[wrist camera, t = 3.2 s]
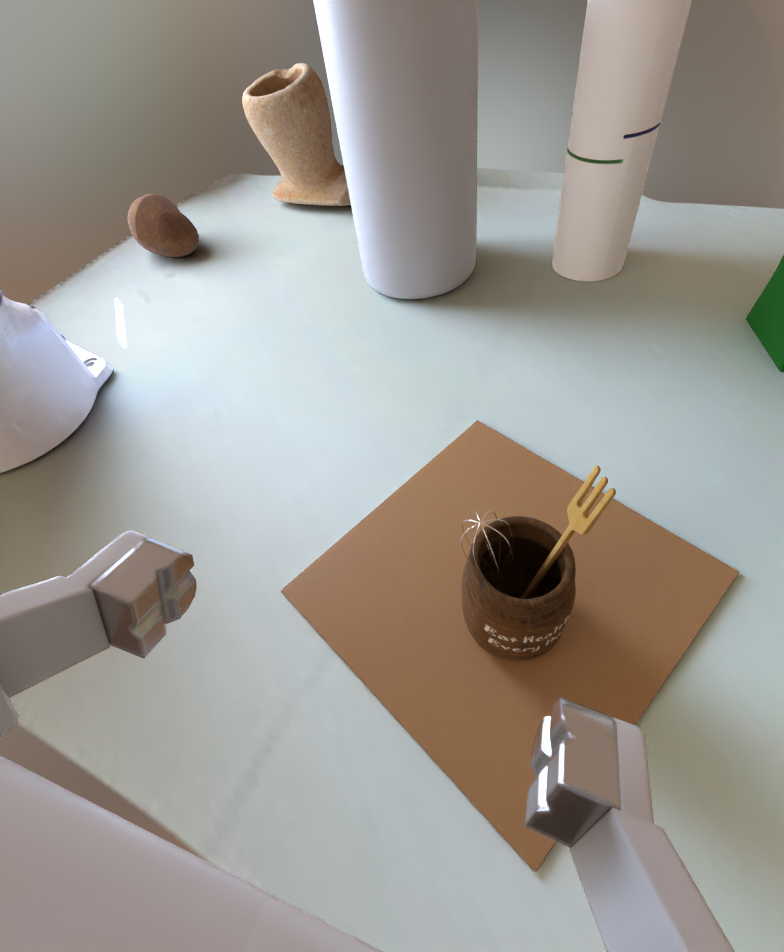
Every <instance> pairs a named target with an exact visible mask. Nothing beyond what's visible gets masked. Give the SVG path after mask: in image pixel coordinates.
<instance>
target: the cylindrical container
mask: <svg viewBox="0 0 784 952" xmlns="http://www.w3.org/2000/svg"><path fill="white" fill-rule="evenodd" d="M691 1H692V0H588V3H587V10H586V18H585V24H584V32H583V40H582V47H581V54H580V61H579V68H578V76H577V83H576V90H575V98H574V106H573V112H572V120H571V127H570V134H569V142H568V150H567V156H566V163H565V171H564V178H563V185H562V192H561V200H560V207H559V214H558V222H557V229H556V236H555V243H554V251H553V258H552V267H553V269H554V270H555V271H556V272H557V273H558V274H559V275H561V276H563V277H565V278H568V279H571V280H576V281H587V282H589V281H600V280H604V279H608V278H610V277H613V276H614V275H616V274H618V273H619V272H620V271H621V270H622V268H623V265H624V261H625V257H626V253H627V249H628V245H629V242H630V238H631V234H632V230H633V226H634V222H635V218H636V215H637V211H638V207H639V203H640V199H641V195H642V191H643V187H644V184H645V179H646V176H647V172H648V168H649V164H650V160H651V156H652V152H653V149H654V145H655V141H656V137H657V133H658V129H659V126H660V120H661V118H662V114H663V110H664V106H665V102H666V98H667V95H668V90H669V87H670V83H671V79H672V75H673V71H674V67H675V64H676V60H677V55H678V52H679V48H680V44H681V40H682V36H683V33H684V28H685V25H686V21H687V17H688V13H689V9H690V6H691Z"/></svg>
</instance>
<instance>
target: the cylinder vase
mask: <svg viewBox="0 0 784 952" xmlns="http://www.w3.org/2000/svg"><path fill="white" fill-rule="evenodd" d="M313 1H314V6H315V12H316V17H317V23H318V28H319V33H320V39H321V44H322V50H323V55H324V61H325V66H326V71H327V76H328V82H329V87H330V93H331V99H332V104H333V110H334V115H335V121H336V126H337V131H338V136H339V142H340V148H341V153H342V158H343V164H344V169H345V175H346V180H347V186H348V191H349V197H350V202H351V207H352V213H353V218H354V224H355V229H356V235H357V240H358V245H359V251H360V256H361V262H362V267H363V273H364V277H365V279H366V281H367V282H368V284H369V285H370V286H371V287H372V288H373V289H374V290H376V291H377V292H379V293H381V294H384V295H386V296H389V297H393V298H399V299H422V298H429V297H433V296H437V295H440V294H443V293H446V292H448V291H450V290H452V289H454V288H456V287H458V286H459V285H461V284H462V283H463V282H464V281H466V280H467V279H468V277H469V276H470V275H471V273H472V272H473V270H474V268H475V265H476V226H477V99H478V98H477V97H478V95H477V92H478V88H477V87H478V0H313Z"/></svg>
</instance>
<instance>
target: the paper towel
mask: <svg viewBox="0 0 784 952" xmlns="http://www.w3.org/2000/svg"><path fill="white" fill-rule="evenodd" d="M583 483H584V482H583V481H581V480H580V479H578V478H576V477H574V476H573V475H571V474H569V473H567V472H566V471H564V470H562V469H561V468H559V467H557V466H555V465H554V464H552V463H550V462H549V461H547V460H545V459H543V458H542V457H540V456H538V455H536V454H535V453H533V452H531V451H530V450H528V449H526V448H524V447H523V446H521V445H519V444H517V443H516V442H514V441H512V440H511V439H509V438H507V437H505V436H504V435H502V434H500V433H498V432H497V431H495V430H493V429H492V428H490V427H488V426H486V425H485V424H483V423H481V422H480V421H476V422H475V423H474V424H473V425H472V426H471V427H469V428H468V429H467V430H466V431H465V432H464V433H462V434H461V435H460V436H459V437H458V438H457V439H456V440H454V441H453V442H452V443H451V444H450V445H449V446H447V447H446V448H445V449H444V450H443V451H442V452H440V453H439V454H438V455H437V456H436V457H435V458H434V459H432V460H431V461H430V462H429V463H428V464H427V465H425V466H424V467H423V468H422V469H421V470H420V471H419V472H417V473H416V474H415V475H414V476H413V477H412V478H410V479H409V480H408V481H407V482H406V483H405V484H403V485H402V486H401V487H400V488H399V489H398V490H397V491H395V492H394V493H393V494H392V495H391V496H390V497H388V498H387V499H386V500H385V501H384V502H383V503H382V504H380V505H379V506H378V507H377V508H376V509H375V510H373V511H372V512H371V513H370V514H369V515H368V516H366V517H365V518H364V519H363V520H362V521H361V522H360V523H358V524H357V525H356V526H355V527H354V528H353V529H351V530H350V531H349V532H348V533H347V534H346V535H344V536H343V537H342V538H341V539H340V540H339V541H338V542H336V543H335V544H334V545H333V546H332V547H331V548H329V549H328V550H327V551H326V552H325V553H324V554H323V555H321V556H320V557H319V558H318V559H317V560H316V561H314V562H313V563H312V564H311V565H310V566H309V567H307V568H306V569H305V570H304V571H303V572H302V573H301V574H299V575H298V576H297V577H296V578H295V579H294V580H292V581H291V582H290V583H289V584H288V585H287V586H286V587H284V588H283V589H282V590H281V592H282V593H283V594H284V595H285V596H286V597H287V598H288V600H289V601H290V602H291V603H292V604H293V605H294V606H295V607H296V608H297V609H298V611H299V612H300V613H301V614H302V615H303V616H304V617H305V618H306V619H307V621H308V622H309V623H310V624H311V625H312V626H313V627H314V628H315V629H316V630H317V632H318V633H319V634H320V635H321V636H322V637H323V638H324V639H325V640H326V642H327V643H328V644H329V645H330V646H331V647H332V648H333V649H334V650H335V651H336V653H337V654H338V655H339V656H340V657H341V658H342V659H343V660H344V661H345V662H346V664H347V665H348V666H349V667H350V668H351V669H352V670H353V671H354V672H355V674H356V675H357V676H358V677H359V678H360V679H361V680H362V681H363V682H364V683H365V685H366V686H367V687H368V688H369V689H370V690H371V691H372V692H373V693H374V695H375V696H376V697H377V698H378V699H379V700H380V701H381V702H382V703H383V704H384V706H385V707H386V708H387V709H388V710H389V711H390V712H391V713H392V714H393V716H394V717H395V718H396V719H397V720H398V721H399V722H400V723H401V724H402V725H403V727H404V728H405V729H406V730H407V731H408V732H409V733H410V734H411V735H412V737H413V738H414V739H415V740H416V741H417V742H418V743H419V744H420V745H421V746H422V748H423V749H424V750H425V751H426V752H427V753H428V754H429V755H430V756H431V757H432V759H433V760H434V761H435V762H436V763H437V764H438V765H439V766H440V767H441V769H442V770H443V771H444V772H445V773H446V774H447V775H448V776H449V777H450V778H451V780H452V781H453V782H454V783H455V784H456V785H457V786H458V787H459V788H460V790H461V791H462V792H463V793H464V794H465V795H466V796H467V797H468V798H469V799H470V801H471V802H472V803H473V804H474V805H475V806H476V807H477V808H478V809H479V811H480V812H481V813H482V814H483V815H484V816H485V817H486V818H487V819H488V820H489V822H490V823H491V824H492V825H493V826H494V827H495V828H496V829H497V830H498V831H499V833H500V834H501V835H502V836H503V837H504V838H505V839H506V840H507V841H508V843H509V844H510V845H511V846H512V847H513V848H514V849H515V850H516V851H517V852H518V854H519V855H520V856H521V857H522V858H523V859H524V860H525V861H526V862H527V864H528V865H529V866H530V867H531V868H532V869H533V870H534V871H535V872H536V870H537V869H538V867H539V866H540V865H541V863H542V862H543V860H544V859H545V857H546V856H547V854H548V853H549V851H550V850H551V848H552V847H553V845H554V844H555V842H556V840H553V839H551V838H549V837H547V836H545V835H543V834H541V833H539V832H536V831H534V830H532V829H530V828H528V827H526V826H525V819H526V807H527V795H528V788H529V787H530V785H531V784H532V782H533V781H534V779H535V778H536V776H535V774H534V772H533V770H532V767H531V765H530V762H531V753H532V747H533V742H534V738H535V735H536V732H537V729H538V726H539V725H540V723H541V721H542V720H543V718H544V717H548V716H551V705H552V704H553V703H554V701H555V700H556V698H558V697H562V698H565V699H568V700H571V701H573V702H576V703H579V704H581V705H584V706H587V707H589V708H592V709H595V710H598V711H600V712H603V713H606V714H608V715H611V717H614V718H616V719H619V720H622V721H625V722H627V723H630V724H633V725H636V723H637V722H638V720H639V719H640V717H641V716H642V714H643V713H644V711H645V710H646V708H647V707H648V706H649V704H650V703H651V701H652V700H653V698H654V697H655V695H656V694H657V692H658V691H659V689H660V688H661V686H662V685H663V683H664V682H665V680H666V679H667V678H668V676H669V675H670V673H671V672H672V670H673V669H674V667H675V666H676V664H677V663H678V661H679V660H680V658H681V657H682V655H683V654H684V653H685V651H686V650H687V648H688V647H689V645H690V644H691V642H692V641H693V639H694V638H695V636H696V635H697V633H698V632H699V630H700V629H701V627H702V626H703V625H704V623H705V622H706V620H707V619H708V617H709V616H710V614H711V613H712V611H713V610H714V608H715V607H716V605H717V604H718V602H719V601H720V600H721V598H722V597H723V595H724V594H725V592H726V591H727V589H728V588H729V586H730V585H731V583H732V582H733V580H734V579H735V577H736V576H737V574H738V573H739V572H738V571H737V570H735V569H733V568H731V567H730V566H728V565H726V564H724V563H723V562H721V561H719V560H718V559H716V558H714V557H712V556H711V555H709V554H707V553H706V552H704V551H702V550H700V549H699V548H697V547H695V546H693V545H692V544H690V543H688V542H687V541H685V540H683V539H681V538H680V537H678V536H676V535H674V534H673V533H671V532H669V531H668V530H666V529H664V528H662V527H661V526H659V525H657V524H655V523H654V522H652V521H650V520H649V519H647V518H645V517H643V516H642V515H640V514H638V513H637V512H635V511H633V510H631V509H630V508H628V507H626V506H624V505H623V504H621V503H619V502H618V501H616V500H614V499H612V500H611V501H610V503H609V504H608V506H607V507H606V508H605V510H604V511H603V513H602V514H601V516H600V517H599V519H598V520H597V522H596V523H595V524H594V526H593V527H592V529H591V530H590V532H589V533H588V534H583V535H581V534H579V533H578V532H576V531H575V533H574V534H573V535H572V537H571V538H570V540H569V541H568V543H569V545H570V547H571V549H572V552H573V555H574V559H575V567H576V576H575V585H576V594H575V601H574V605H573V609H572V612H571V614H570V617H569V620H568V622H567V624H566V627H565V629H564V631H563V633H562V635H561V637H560V638H559V640H558V641H557V643H556V644H555V645H554V646H553V647H552V648H551V649H550V650H549V651H548V652H546V653H545V654H543V655H541V656H539V657H537V658H534V659H531V660H525V661H512V660H506V659H502V658H499V657H497V656H495V655H493V654H491V653H489V652H488V651H486V650H485V649H484V648H482V647H481V646H480V645H479V644H478V643H477V642H476V641H475V639H474V638H473V637H472V635H471V633H470V632H469V630H468V628H467V625H466V623H465V619H464V615H463V608H462V575H463V570H464V566H465V564H466V561H467V558H468V555H469V552H470V548H471V546H472V544H473V541H474V538H475V534H476V531H477V529H478V526H479V525H476V524H478V523H477V522H478V520H477V518H478V517H479V519H480V521H481V520H482V519H483V517H484V516H485V514H486V513H487V512H489V511H494V512H495V514H496V517H497V519H502V518H506V517H512V516H524V517H530V518H534V519H538V520H540V521H543V522H545V523H547V524H549V525H550V526H552V527H553V528H555V529H556V530H557V531H558V532H560V533H561V534H562V535H563V533H564V532H565V530H566V529H567V527H568V526H569V519H568V513H567V508H568V506H569V504H570V503H571V501H572V500H573V498H574V497H575V495H576V494H577V492H578V491H579V489H580V488H581V486H582V485H583ZM593 490H594V488H593V487H592V486H591V487H590V489H589V491H588V492H587V494H586V495H585V497H584V499H583V500H582V505H583V504H584V502H585V501H586V500H587V498H588V497H589V495H590V494H591V492H592V491H593ZM604 496H605V494H604V493H602V492H601V494H600V495H599V497H598V498H597V500H596V501H595V503H594V504H593V506H592V507H591V509H590V510H589V512H588V516H590V515H591V513H592V512H593V511H594V509H595V508H596V506H597V505H598V504H599V502H600V501H601V500H602V498H603V497H604ZM475 511H476V513H477V515H478V517H477V518H476V515H475ZM494 512H489V513H488V514H487V515H486V516H485V517H484V519H483V521H482V522H484V521H487V520H492V519H496V517H495V514H494ZM465 520H473V521H477V522H473V521H465ZM463 521H465V522H464V523H463V524H462V522H463ZM494 521H496V520H492V521H487V522H484V523H483V524H486V525H489V524H490V523H492V522H494ZM461 524H462V526H463V530H464V533H465V532H466V531H467V530H468V529H469V528H471V527H472V526H474V525H476V526H474V527H473V528H471V529H470V530H468V531H467V532H466V533H465V535H466V538H467V540H468V541H469V543H470V544H471V546H470V544H469V543H468V541H467V540H466V538H465V535H464V536H463V537H462V535H463V534H464V533H463V530H462V526H461ZM483 524H482V526H483V528H484V527H486V526H485V525H483ZM480 526H481V525H480ZM482 526H481V529H482ZM481 529H480V527H479V529H478V532H477V535H478V534H479V532H480V531H481ZM477 535H476V536H477ZM461 537H462V540H461ZM460 540H461V544H462V547H463V550H464V553H465V555H466V556H467V558H466V557H465V555H464V553H463V550H462V547H461V544H460Z"/></svg>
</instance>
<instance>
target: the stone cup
mask: <svg viewBox="0 0 784 952" xmlns="http://www.w3.org/2000/svg"><path fill="white" fill-rule="evenodd" d="M242 102H243V107H244V112H245V115H246V117H247V119H248V122H249V124H250V125H251V127H252V129H253V131H254V132H255V134H256V136H257V138H258V139H259V141H260V142H261V144H262V145H263V146H264V148H265V149H266V151H267V152H268V154H269V155H270V156H271V158H272V159H273V161H274V162H275V164H276V165H277V167H278V169H279V170H280V173H281V177H282V181H281V182H280V183H279V184H278V185H277V187H276V188H275V189H274V192H273V196H274V197H275V198H276V199H277V200H279V201H282V202H286V203H293V204H306V205H327V206H346V205H351V202H350V197H349V191H348V186H347V180H346V175H345V169H344V166H343V165H340V164H339V163H338V162H337V160H336V158H335V156H334V151H333V146H332V133H331V120H330V114H329V108H328V103H327V98H326V95H325V91H324V88H323V85H322V82H321V80H320V78H319V77H318V75H317V74H316V72H315V71H314V70H313V69H312V68H311V67H309V66H308V65H307V64H303V63H297V64H296V65H294V66H293V67H292V68H291V69H289V70H284V69H278V70H273V71H271V72H269V73H267V74H265V75H264V76H262V77H260V78H259V79H257V80H256V81H255V82H254V83H253V84H252V85H250V86H249V87H248V88H247V89H246V90H245V91H244V93H243V98H242Z"/></svg>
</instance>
